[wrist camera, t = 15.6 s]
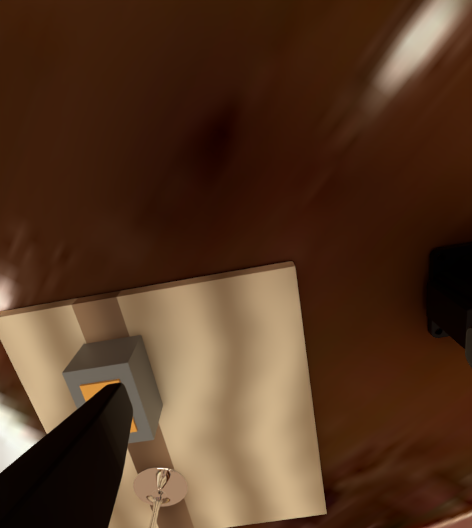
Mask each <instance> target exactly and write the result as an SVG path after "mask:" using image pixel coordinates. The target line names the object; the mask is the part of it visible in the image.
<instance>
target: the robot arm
mask: <svg viewBox="0 0 472 528" xmlns="http://www.w3.org/2000/svg"><path fill="white" fill-rule="evenodd" d="M441 253H442V256H441V257H440V258H439V259H437V257H438V255H439V254H441ZM427 317H428V331H429V333H430V334H431V335H432V336H433V337H435V338H440V337H447V336H450V337H452V338H453V339H454V340H455V341H456V342H457V343H459V344H460V345H461V346H462V347H463V348H464V349H465V356H466V359H467V361H468V363H469V365H470V366H471V368H472V242H470V243H464V244H458V245H452V246H446V247H441V248H436V249H434V250H433V251H432V252H431V254H430V272H429V282H428V284H427ZM437 329H439V330H438V331H436V330H437ZM435 331H436V332H435ZM132 418H133V407H132V403H131V401H130V398H129V395H128V393H127V390H126V387H125V385H124V384H123V383H121V382H119V383H113V384H108V385H106V386H104V387H103V388H102V389H101V390H100V391H98V392H97V393H96V394H95V395H94V396H92V397H91V398H90V399H89V400H88V401H86V402H85V403H84V404H83V405H82V406H80V407H79V408H78V409H77V410H76V411H74V412H73V413H72V414H71V415H70V416H68V417H67V418H66V419H65V420H64V421H62V422H61V423H60V424H59V425H58V426H56V427H55V428H54V429H53V430H52V431H50V432H49V433H48V434H47V435H46V436H44V437H43V438H42V439H41V440H40V441H38V442H37V443H36V444H35V445H34V446H32V447H31V448H30V449H29V450H27V451H26V452H25V453H24V454H23V455H21V456H20V457H19V458H18V459H17V460H15V461H14V462H13V463H12V464H11V465H10V466H8V467H7V468H6V469H5V470H3V471H2V472H1V473H0V528H108V527H109V523H110V519H111V516H112V512H113V509H114V505H115V501H116V498H117V494H118V490H119V487H120V483H121V479H122V475H123V470H124V465H125V459H126V454H127V448H128V442H129V436H130V430H131V424H132Z"/></svg>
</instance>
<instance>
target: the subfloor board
mask: <svg viewBox="0 0 472 528" xmlns="http://www.w3.org/2000/svg"><path fill="white" fill-rule="evenodd" d="M137 335H141V336H142V339H143V342H144V345H145V348H146V352H147V355H148V358H149V361H150V364H151V368H152V371H153V374H154V377H155V380H156V384H157V387H158V390H159V393H160V396H161V400H162V403H163V408H162V411H161V415H160V419H159V423H158V427H157V430H156V434H155V438H154V440H149V441H142V442H135V443H128V448H127V454H126V459H125V465H124V470H123V475H122V479H121V483H120V487H119V490H118V494H117V498H116V501H115V505H114V509H113V512H112V516H111V519H110V523H109V527H108V528H149V526H150V521H151V516H152V512H153V505H150V504H147V503H145V502H143V501H142V500H140V499H139V498H138V497H137V496H136V494H135V492H134V490H133V482H134V479H135V477H136V476H137V475H138V474H139V473H140V472H141V471H143V470H145V469H148V468H151V467H167V468H171V469H173V470H176V471H177V472H179V473H180V474H182V475H183V476H184V478H185V479H186V481H187V483H188V491H187V494H186V496H185V497H184V499H182V500H181V501H180V502H178V503H176V504H174V505H171V506H164V507H160V508H159V512H158V517H157V522H156V527H155V528H226V527H233V526H241V525H248V524H255V523H263V522H270V521H277V520H285V519H292V518H299V517H307V516H314V515H322V514H327V513H326V505H325V497H324V490H323V482H322V474H321V466H320V458H319V450H318V442H317V434H316V426H315V419H314V411H313V403H312V395H311V387H310V379H309V371H308V363H307V355H306V348H305V340H304V332H303V324H302V316H301V308H300V300H299V292H298V284H297V277H296V269H295V265H294V263H293V261H289V262H283V263H277V264H272V265H266V266H260V267H254V268H249V269H243V270H237V271H231V272H226V273H220V274H214V275H208V276H202V277H197V278H191V279H185V280H179V281H174V282H168V283H162V284H156V285H151V286H145V287H139V288H133V289H127V290H122V291H116V292H110V293H104V294H99V295H93V296H87V297H81V298H76V299H70V300H64V301H58V302H52V303H47V304H41V305H35V306H29V307H24V308H18V309H12V310H6V311H1V312H0V340H1V342H2V344H3V346H4V348H5V350H6V352H7V354H8V356H9V358H10V360H11V362H12V364H13V366H14V368H15V370H16V372H17V374H18V376H19V378H20V380H21V382H22V384H23V386H24V388H25V390H26V392H27V394H28V396H29V398H30V400H31V402H32V405H33V407H34V409H35V411H36V413H37V415H38V417H39V419H40V421H41V423H42V425H43V427H44V429H45V431H46V433H47V434H48V433H49V432H50V431H52V430H53V429H54V428H55V427H56V426H58V425H59V424H60V423H61V422H62V421H64V420H65V419H66V418H67V417H68V416H70V415H71V414H72V413H73V412H74V411H76V410H77V407H76V405H75V403H74V400H73V398H72V396H71V393H70V391H69V389H68V386H67V384H66V382H65V379H64V377H63V375H62V372H63V371H64V369H65V368H66V367H67V365H68V364H69V363H70V361H71V360H72V359H73V357H74V356H75V355H76V353H77V352H78V351H79V349H80V348H81V347H82V345H83V344H87V343H93V342H99V341H105V340H112V339H118V338H124V337H131V336H137Z"/></svg>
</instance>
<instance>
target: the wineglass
mask: <svg viewBox="0 0 472 528" xmlns="http://www.w3.org/2000/svg"><path fill="white" fill-rule="evenodd" d="M133 490H134V492H135V494H136V496H137V497H138V498H139V499H140V500H142V501H143V502H145V503H147V504H150V505H153V512H152V516H151V521H150V526H149V528H155V527H156V522H157V517H158V512H159V508H160V507H164V506H171V505H174V504H176V503H178V502H180V501H181V500H182V499H184V497H185V496H186V494H187V491H188V483H187V481H186V479H185V478H184V476H183V475H182V474H180V473H179V472H177V471H176V470H173V469H171V468H167V467H151V468H148V469H145V470H143V471H141V472H140V473H139V474H138V475H137V476H136V477H135V479H134V482H133Z"/></svg>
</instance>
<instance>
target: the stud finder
mask: <svg viewBox="0 0 472 528" xmlns="http://www.w3.org/2000/svg"><path fill="white" fill-rule="evenodd" d="M62 375H63V377H64V379H65V382H66V384H67V386H68V389H69V391H70V393H71V396H72V398H73V400H74V403H75V405H76V407H77V409H78V408H79V407H80V406H82V405H83V404H84V403H85V402H86V401H88V400H89V399H90V398H91V397H92V396H94V395H95V394H96V393H97V392H98V391H100V390H101V389H102V388H103V387H104V386H106V385H108V384H113V383H119V382H121V383H123V384H124V385H125V387H126V390H127V393H128V395H129V398H130V401H131V403H132V407H133V418H132V424H131V430H130V436H129V442H128V443H135V442H142V441H149V440H154V438H155V434H156V430H157V427H158V423H159V419H160V415H161V411H162V408H163V403H162V400H161V396H160V393H159V390H158V387H157V384H156V380H155V377H154V374H153V371H152V368H151V364H150V361H149V358H148V355H147V352H146V348H145V345H144V342H143V339H142V336H141V335H137V336H131V337H124V338H118V339H112V340H105V341H99V342H93V343H87V344H83V345H82V347H81V348H80V349H79V351H78V352H77V353H76V355H75V356H74V357H73V359H72V360H71V361H70V363H69V364H68V365H67V367H66V368H65V369H64V371H63V372H62Z"/></svg>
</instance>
